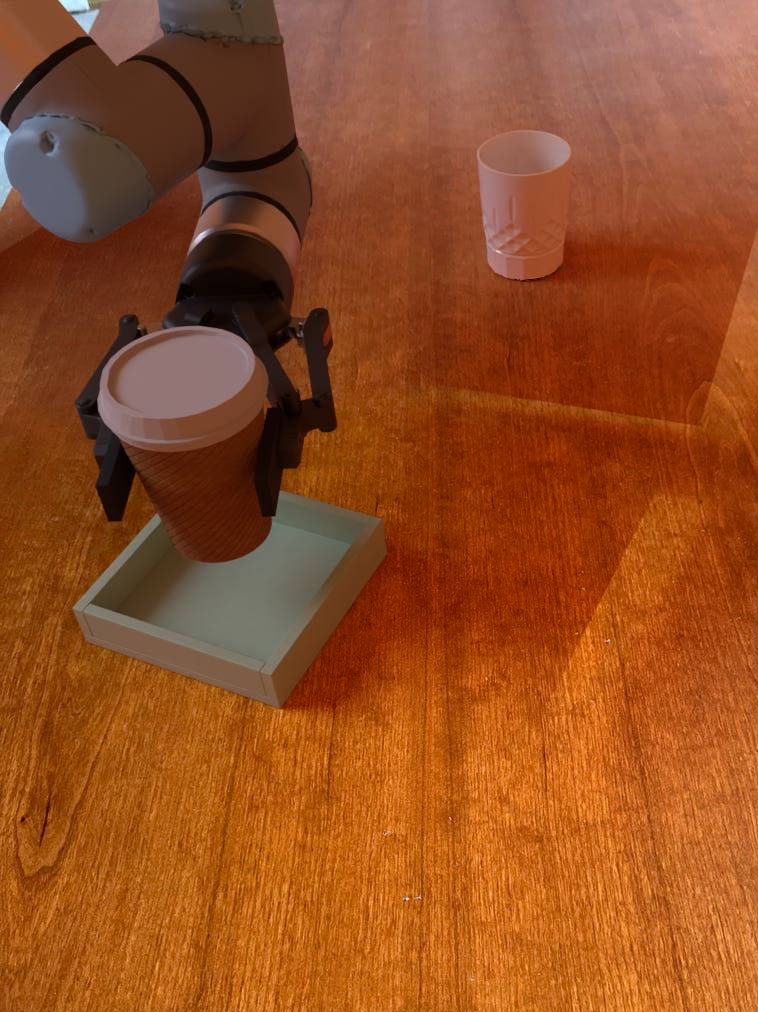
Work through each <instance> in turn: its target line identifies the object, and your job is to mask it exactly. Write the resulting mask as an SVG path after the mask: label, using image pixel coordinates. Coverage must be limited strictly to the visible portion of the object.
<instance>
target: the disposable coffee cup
mask: <svg viewBox="0 0 758 1012" xmlns="http://www.w3.org/2000/svg"><path fill="white" fill-rule="evenodd" d="M267 388H268V375H267V372H266V368H265V366H264V365H263V363H262V362H261V360H260V359H259V358H258V357H257V356H256V355H255V354H254V353H253V351H252V349H251V347H250V346H249V345H248V343H247V342H245V341H244V340H243V339H242V338H241V337H239V336H237V335H235V334H233V333H231V332H228V331H225V330H222V329H217V328H210V327H203V326H184V327H175V328H170V329H166V330H162V331H158V332H154V333H151V334H148V335H146V336H143V337H141V338H139V339H137V340H135V341H133V342H131V343H130V344H128V345H126V346H125V347H123V348H122V349H121V350H119V351H118V352H117V353H116V354H115V355H114V356H113V357H111V359H110V360H109V362H108V363H107V365H106V366H105V367H104V369H103V371H102V376H101V380H100V392H99V395H98V399H97V401H98V411H99V413H100V415H101V417H102V419H103V421H104V423H105V425H107V426H108V427H109V428H110V429H111V430H112V431H113V432H114V433H115V434H116V435H117V436H118V438H119V440H120V442H121V444H122V446H123V448H124V450H125V452H126V453H127V455H128V457H129V459H130V461H131V463H132V465H133V467H134V469H135V471H136V475H137V477H138V478H139V480H140V483H141V484H142V486H143V489H144V490H145V492H146V494H147V496H148V497H149V500H150V502H151V503H152V506H153V507H154V510H155V511H156V514H157V513H158V515H159V517H160V519H161V521H162V523H163V525H164V527H165V528H166V530H167V532H168V534H169V536H170V538H171V540H172V542H173V544H174V546H175V547H176V548H177V549H178V551H179V552H180V553H181V554H183V555H184V556H186V557H187V558H190V559H192V560H195V561H200V562H205V563H221V562H227V561H232V560H235V559H238V558H241V557H243V556H245V555H247V554H249V553H251V552H253V551H254V550H255V549H256V548H258V547H259V546H260V545H261V544H262V543H263V542H264V541H265V540H266V538H267V537H268V535H269V533H270V530H271V527H272V517H262V513H261V509H260V505H259V501H258V497H257V493H256V489H255V485H254V476H255V471H256V466H257V460H258V455H259V450H260V444H261V439H262V434H263V429H264V423H265V418H266V414H265V405H264V403H265V401H266V394H267Z"/></svg>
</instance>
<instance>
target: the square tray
mask: <svg viewBox="0 0 758 1012" xmlns="http://www.w3.org/2000/svg"><path fill="white" fill-rule="evenodd" d="M387 555H388V549H387V541H386V534H385V525H384V520H383V518H381V517H378V516H374V515H371V514H367V513H363V512H359V511H356V510H353V509H349V508H346V507H342V506H339V505H335V504H331V503H327V502H324V501H321V500H317V499H314V498H310V497H307V496H303V495H299V494H296V493H292V492H289V491H286V490H282V489H280V492H279V498H278V504H277V510H276V516H275V517H272V527H271V530H270V533H269V535H268V537H267V538H266V540H265V541H264V542H263V543H262V544H261V545H260V546H259V547H258V548H256V549H255V550H254V551H253V552H251V553H249V554H247V555H245V556H243V557H241V558H238V559H235V560H232V561H227V562H221V563H205V562H200V561H195V560H192V559H190V558H187V557H186V556H184V555H183V554H181V553H180V552H179V551H178V549H177V548H176V547H175V546H174V544H173V542H172V540H171V538H170V536H169V534H168V532H167V530H166V528H165V527H164V525H163V523H162V521H161V519H160V517H159V515H158V513H157V512H156V513H155V514H154V516H153V517H152V518H151V519H150V520H149V521H148V522H147V524H146V525H144V526H143V528H142V529H141V530H140V531H139V533H138V534H136V536H135V537H134V538H133V539H132V541H130V543H129V544H128V545H127V546H126V547H124V549H123V550H122V552H121V553H119V555H118V556H117V557H116V558H115V559H114V560H113V562H112V563H111V564H110V565H109V566H108V567H107V568H106V569H105V571H104V572H102V574H101V575H100V576H99V578H97V579H96V581H94V582H93V584H92V585H91V586H90V587H89V589H88V590H87V591H86V592H85V593H84V594H83V595H82V596H81V597H80V598H79V600H78V601H77V602H76V603H75V604H74V606H72V611H73V613H74V615H75V618H76V621H77V622H78V624H79V627H80V629H81V632H82V634H83V636H84V638H85V640H86V643H89V644H90V645H91V644H92V645H95V646H97V647H100V648H103V649H106V650H109V651H112V652H114V653H117V654H121V655H124V656H126V657H129V658H132V659H135V660H138V661H140V662H144V663H146V664H150V665H152V666H155V667H158V668H160V669H164V670H167V671H170V672H172V673H176V674H178V675H181V676H184V677H187V678H190V679H193V680H196V681H199V682H202V683H205V684H207V685H211V686H212V687H213V686H214V687H216V688H219V689H221V690H225V691H228V692H230V693H233V694H236V695H238V696H242V697H245V698H248V699H251V700H253V701H256V700H257V701H256V702H260V703H262V704H265V705H268V706H271V707H274V708H277V709H282V707H283V706H284V704H285V703H286V701H287V700H288V699H289V697H290V696H291V695H292V693H293V691H294V690H295V688H296V687H297V686H298V684H299V683H300V681H301V679H303V677H304V675H305V674H306V672H307V671H308V670H309V668H310V667H311V665H312V664H313V662H314V661H315V659H316V658H317V656H318V655H319V654H320V652H321V651H322V649H323V648H324V646H325V645H326V643H327V642H328V641H329V639H330V638H331V636H332V635H333V633H334V632H335V631H336V629H337V627H339V624H340V623H341V621H342V620H343V619H344V617H345V616H346V614H347V613H348V612H349V610H350V608H352V606H353V604H354V602H355V601H356V600H357V598H358V597H359V596H360V594H361V593H362V591H363V590H364V589H365V587H366V585H367V584H368V582H369V581H370V580H371V578H372V576H373V575H374V574H375V573H376V571H377V569H378V568H379V567H380V565H381V564H382V562H383V561H384V559H385V558H386V557H387Z"/></svg>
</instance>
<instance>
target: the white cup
mask: <svg viewBox="0 0 758 1012" xmlns="http://www.w3.org/2000/svg"><path fill="white" fill-rule="evenodd" d="M476 161H477V162H476V163H477V172H478V184H479V195H480V196H479V197H480V207H481V208H480V209H481V215H482V226H483V233H484V236H485V242H486V244H485V245H486V257H487V258H486V259H487V265H488V266H489V267H490V268H491V270H492V271H493V272H494V273H495V274H497V275H499V276H501V275H502V276H501V277H503V278H506V279H508V278H509V279H508V280H514V279H517V280H516V281H522V280H523V279H529V278H535V277H541V276H545V275H547V274H549V273H552V272H554V271H555V270H556V269H557V268H558V267H559V266H560V265H561V264H562V263H563V262H564V250H565V249H564V248H565V238H566V234H567V230H568V229H567V228H568V219H569V207H570V193H571V179H572V178H571V176H572V164H573V163H572V162H573V148H572V146H571V144H570V143H569V142H568V141H567V140H566V139H565V138H563V137H561V136H559V135H557V134H554V133H551V132H547V131H542V130H532V129H520V130H519V129H518V130H511V131H505V132H502V133H499V134H495V135H494V136H491V137H490V138H488V139H486V140H485V141H483V142H482V143H481V144H480V146H479V147H478V149H477V151H476ZM562 265H563V264H562ZM562 265H561V266H562ZM561 266H560V267H561ZM560 267H559V268H560ZM559 268H558V269H559ZM519 279H520V280H519Z"/></svg>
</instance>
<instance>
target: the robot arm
mask: <svg viewBox="0 0 758 1012" xmlns="http://www.w3.org/2000/svg"><path fill="white" fill-rule="evenodd" d="M274 2H275V1H274V0H157V5H158V14H159V22H158V25H159V28H160V29H161V30H162V34H163V36H162V37H160V38H159V39H157V40H156V41H154V42H153V43H151V44H150V45H148V46H146V47H145V48H143V49H142V50H140V51H139V52H137V53H135V54H133V55H132V56H131V57H129V58H127V59H125V60H124V61H122V62H120V63H119V64H118V65H116V63H115V62H114V61H113V60H112V59H111V58H110V56H109V55H108V54H107V53H106V52H105V51H104V50H103V49H102V48H101V47H100V45H98V44H97V42H96V41H95V39H93V38H92V36H90V35H89V33H88V32H86V30H85V29H84V28H83V27H82V26H81V24H79V21H77V20H76V19H75V17H74V16H73V15H72V14H71V13H70V12H69V10H68V9H66V7H65V6H64V5H63V3H61V1H60V0H0V122H1V123H2V124H3V125H4V126H5V128H7V130H8V131H9V133H10V135H9V137H8V138H7V141H6V144H5V148H4V153H3V162H4V166H5V167H4V169H5V173H6V176H7V179H8V182H9V184H10V185H11V186H12V188H14V189H15V190H16V191H17V192H18V193H19V195H20V197H21V200H20V202H21V206H23V208H24V209H25V210H26V212H27V213H28V214H29V215H30V217H32V218H33V219H34V220H35V221H36V222H37V223H38V224H39V225H40V226H41V227H42V228H43V229H45V230H46V231H48V232H50V233H52V234H53V235H54V236H57V237H58V238H61V239H63V240H65V241H68V242H72V243H79V244H89V243H95V242H98V241H101V240H102V239H105V238H106V237H107V236H109V235H110V234H112V233H114V232H115V231H117V230H118V229H120V228H122V227H123V226H124V225H126V224H128V223H130V222H133V221H134V220H136V219H137V218H138V217H143V216H144V215H146V214H147V213H148V212H149V210H151V208H152V206H153V205H154V204H155V203H156V202H157V201H159V200H160V199H162V198H163V197H165V195H166V194H168V193H169V192H171V191H172V190H173V189H175V188H176V187H177V186H179V185H180V184H182V182H184V181H185V180H187V179H188V178H189V177H190V176H192V175H193V174H195V173H197V178H198V183H199V186H200V190H201V196H202V205H201V209H200V212H199V217H198V220H197V223H196V226H195V229H194V233H193V236H192V238H191V240H190V241H191V242H190V245H189V248H188V251H187V254H186V259H185V261H184V265H183V268H182V271H181V275H180V279H179V280H178V285H177V288H176V293H175V299H174V306H173V307H172V308H171V310H170V311H168V312H166V313H165V315H164V316H163V318H162V321H155V322H146V323H140V319H139V317H138V315H136V314H133V313H128V314H124V315H122V316H121V317H120V318H119V320H118V332H117V333H118V335H117V337H116V338H115V340H114V341H113V343H112V344H111V346H110V348H109V349H108V350H107V352H106V353H105V355H104V356H103V358H102V359H101V361H100V363H99V364H98V366H97V367H96V369H95V371H94V372H93V373H92V375H91V377H89V380H88V381H87V383H86V385H85V386H84V388H83V389H82V390H81V392H80V393H79V395H78V396H77V398H76V400H75V402H74V406H75V408H76V411H77V414H78V417H79V419H80V422H81V425H82V428H83V431H84V433H85V435H86V438H87V439H88V440H91V441H95V443H94V445H93V448H92V452H93V456H94V459H95V462H96V464H97V467H98V470H99V471H98V472H99V473H98V476H97V479H96V482H95V484H94V487H95V490H96V492H97V495H98V498H99V500H100V503H101V505H102V508H103V511H104V514H105V516H106V519H107V521H108V523H113V522H114V523H115V522H117V523H118V522H122V521H123V518H124V514H125V511H126V507H127V504H128V501H129V497H130V494H131V491H132V487H133V485H134V480H135V477H136V475H137V473H136V471H135V469H134V467H133V465H132V463H131V461H130V459H129V457H128V455H127V453H126V452H125V450H124V448H123V446H122V444H121V442H120V440H119V438H118V436H117V435H116V434H115V433H114V432H113V431H112V430H111V429H110V428H109V427H108V426H107V425H105V423H104V421H103V419H102V417H101V415H100V413H99V411H98V401H97V399H98V395H99V392H100V380H101V376H102V371H103V369H104V367H105V366H106V365H107V363H108V362H109V360H110V359H111V357H113V356H114V355H115V354H116V353H117V352H118V351H119V350H121V349H122V348H123V347H125V346H126V345H128V344H130V343H131V342H133V341H135V340H137V339H139V338H141V337H143V336H146V335H148V334H151V333H154V332H158V331H162V330H166V329H170V328H175V327H184V326H203V327H210V328H217V329H222V330H225V331H228V332H231V333H233V334H235V335H237V336H239V337H241V338H242V339H243V340H244V341H245V342H247V343H248V345H249V346H250V347H251V349H252V351H253V353H254V354H255V355H256V356H257V357H258V358H259V359H260V360H261V362H262V363H263V365H264V366H265V368H266V372H267V375H268V388H267V394H266V396H265V398H266V399H267V401H268V403H269V405H270V406H271V407H267V409H266V412H265V413H266V414H265V423H264V429H263V434H262V439H261V444H260V450H259V455H258V460H257V466H256V471H255V476H254V485H255V489H256V493H257V497H258V501H259V505H260V509H261V513H262V517H275V516H276V510H277V504H278V498H279V492H280V490H281V486H282V480H283V479H282V478H283V473H284V470H295V469H296V470H297V468H299V466H300V465H301V463H302V457H303V450H304V445H305V443H304V442H305V438H306V437H307V436H308V433H309V432H311V431H314V430H317V429H318V431H319V432H322V433H323V434H324V433H332V432H334V431H336V429H337V428H338V421H337V414H336V407H335V403H334V396H333V391H332V384H331V377H330V372H329V365H328V358H329V356H330V354H331V352H332V349H333V346H334V339H333V333H332V326H331V319H330V314H329V310H328V309H327V308H325V307H316V308H313V309H312V310H311V311H309V314H308V316H307V317H296V316H292V314H291V312H292V306H293V300H294V295H295V287H296V282H297V277H298V272H299V267H300V262H301V257H302V255H301V254H302V249H303V244H304V240H305V234H306V230H307V225H308V220H309V219H310V216H311V208H313V205H314V191H313V190H314V189H313V171H312V166H311V163H310V160H309V159H308V155H306V153H305V151H304V150H303V149H302V148H301V146H300V143H299V140H298V136H297V130H296V129H297V128H296V124H295V118H294V117H295V116H294V110H293V104H292V97H291V90H290V84H289V77H288V75H289V74H288V69H287V63H286V56H285V48H284V44H285V40H284V36H283V35H282V34H281V31H280V25H279V21H278V16H277V12H276V11H277V10H276V7H275V3H274ZM292 339H295V340H296V343H297V346H298V347H299V348H301V349H302V350H303V354H305V356H306V357H305V358H306V363H307V364H306V365H307V370H308V378H309V383H310V392H311V397H310V398H306V399H301V394H300V389H299V388H297V389H296V388H295V386H294V385H293V383H292V381H291V380H290V378H289V376H288V374H287V373H286V371H285V369H284V368H283V366H282V364H281V362H280V360H279V359H278V356H276V352H278V351H279V350H280V349H282V348H283V347H284V346H286V345H287V344H288V343H290V342H291V341H292Z"/></svg>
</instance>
